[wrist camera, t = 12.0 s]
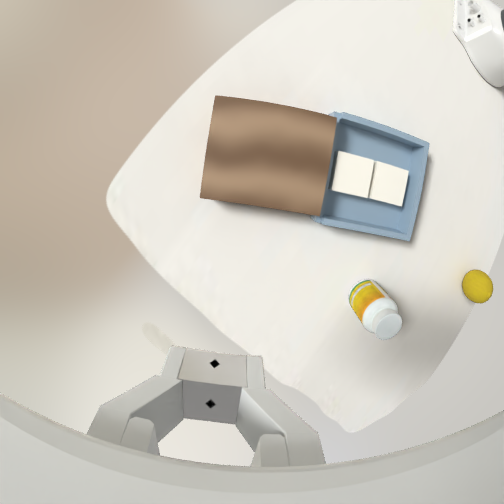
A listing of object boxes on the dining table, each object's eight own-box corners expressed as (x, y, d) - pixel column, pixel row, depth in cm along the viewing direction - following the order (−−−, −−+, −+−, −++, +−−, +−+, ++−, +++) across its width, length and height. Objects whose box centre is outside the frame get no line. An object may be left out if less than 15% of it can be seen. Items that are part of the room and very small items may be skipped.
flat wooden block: (218, 102, 31) (215, 95, 27) (327, 121, 32) (337, 117, 28) (204, 193, 35) (199, 197, 31) (311, 210, 36) (319, 216, 32)
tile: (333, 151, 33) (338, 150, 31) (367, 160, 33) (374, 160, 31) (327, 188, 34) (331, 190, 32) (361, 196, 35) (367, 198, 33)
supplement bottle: (383, 282, 39) (414, 312, 30) (369, 311, 41) (394, 346, 32) (355, 274, 39) (383, 305, 30) (341, 305, 40) (363, 341, 31)
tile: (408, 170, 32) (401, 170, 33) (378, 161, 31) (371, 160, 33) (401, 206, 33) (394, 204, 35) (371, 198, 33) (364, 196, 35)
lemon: (477, 270, 40) (503, 287, 32) (463, 294, 41) (488, 314, 34) (465, 258, 39) (493, 275, 31) (450, 284, 40) (476, 304, 33)
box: (328, 114, 32) (336, 110, 28) (415, 143, 33) (429, 143, 29) (310, 217, 36) (317, 223, 33) (397, 234, 37) (409, 241, 34)
